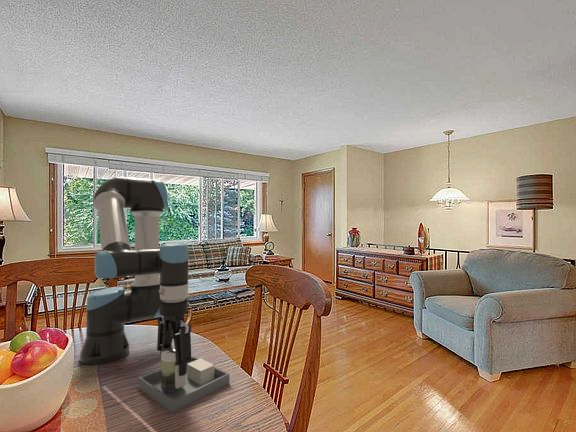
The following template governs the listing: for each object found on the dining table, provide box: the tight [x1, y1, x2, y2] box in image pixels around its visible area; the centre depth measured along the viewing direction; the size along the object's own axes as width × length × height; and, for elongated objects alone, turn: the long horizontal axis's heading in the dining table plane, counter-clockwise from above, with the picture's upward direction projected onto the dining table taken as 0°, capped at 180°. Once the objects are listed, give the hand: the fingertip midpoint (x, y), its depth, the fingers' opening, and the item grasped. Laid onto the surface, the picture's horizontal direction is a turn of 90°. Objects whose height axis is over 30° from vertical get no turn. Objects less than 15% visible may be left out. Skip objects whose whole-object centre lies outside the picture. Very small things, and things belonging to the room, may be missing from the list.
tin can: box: [160, 344, 184, 392], centre depth 86 cm, size 6×6×10 cm
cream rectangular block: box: [187, 358, 215, 385], centre depth 93 cm, size 7×5×4 cm
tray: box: [137, 355, 230, 414], centre depth 88 cm, size 18×18×4 cm
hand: (173, 381), depth 86 cm, fingers closed on tin can, 6 cm apart
